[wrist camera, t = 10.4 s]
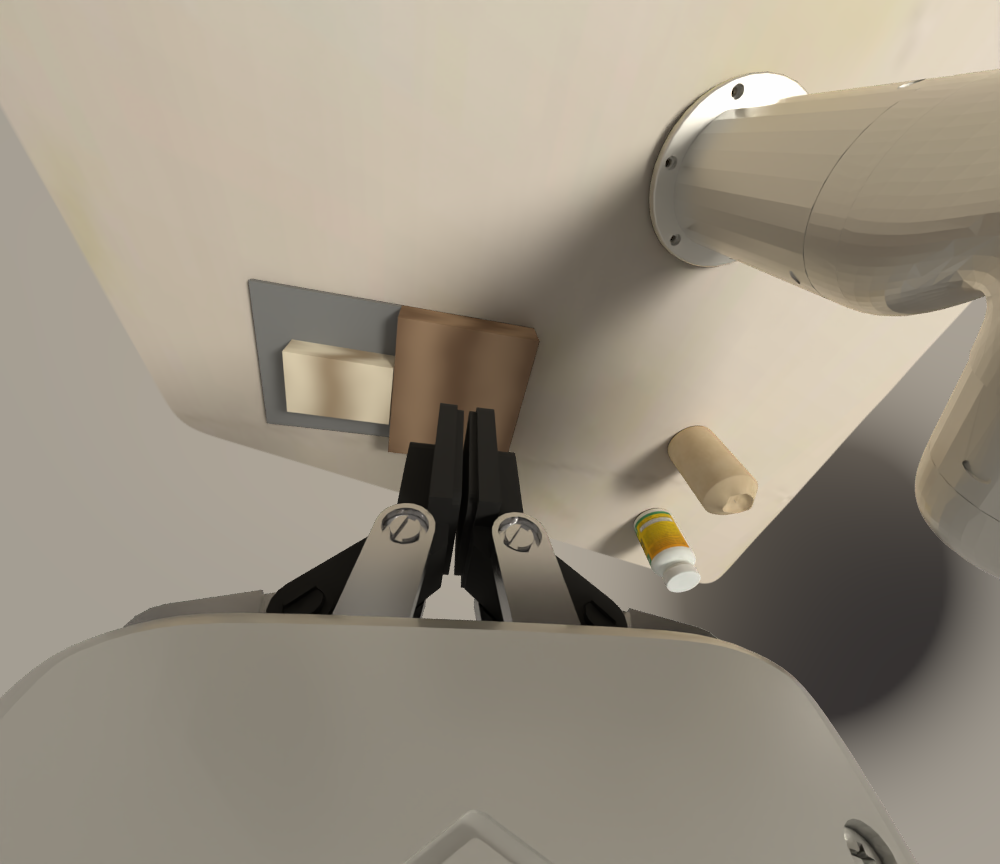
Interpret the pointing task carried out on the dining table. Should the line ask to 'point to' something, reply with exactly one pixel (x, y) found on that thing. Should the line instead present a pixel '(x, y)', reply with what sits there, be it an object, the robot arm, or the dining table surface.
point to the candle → (712, 471)
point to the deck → (456, 373)
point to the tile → (338, 382)
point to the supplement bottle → (667, 549)
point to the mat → (316, 341)
